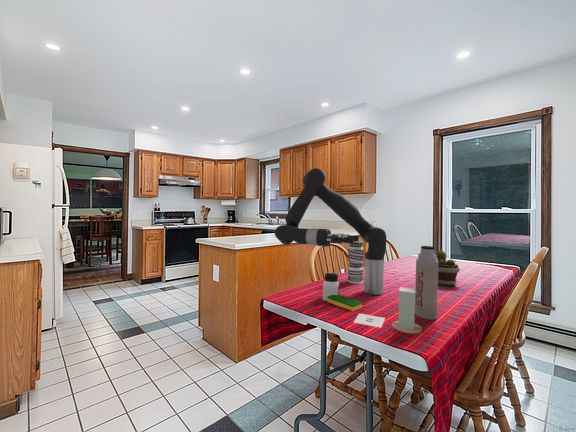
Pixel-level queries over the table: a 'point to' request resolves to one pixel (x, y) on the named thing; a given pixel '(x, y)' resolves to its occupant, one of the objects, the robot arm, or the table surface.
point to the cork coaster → (416, 329)
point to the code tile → (369, 320)
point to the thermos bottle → (426, 283)
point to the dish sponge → (344, 302)
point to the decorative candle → (355, 262)
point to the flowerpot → (446, 270)
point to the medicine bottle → (330, 285)
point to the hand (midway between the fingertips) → (356, 239)
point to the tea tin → (406, 308)
